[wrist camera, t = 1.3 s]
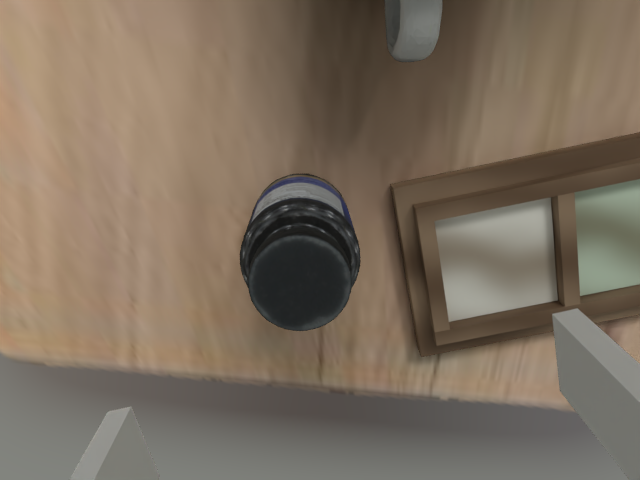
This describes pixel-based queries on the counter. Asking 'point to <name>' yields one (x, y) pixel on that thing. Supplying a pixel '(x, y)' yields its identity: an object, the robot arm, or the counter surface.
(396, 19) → the coffee mug
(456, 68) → the counter surface
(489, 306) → the divided wooden tray
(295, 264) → the pill bottle
